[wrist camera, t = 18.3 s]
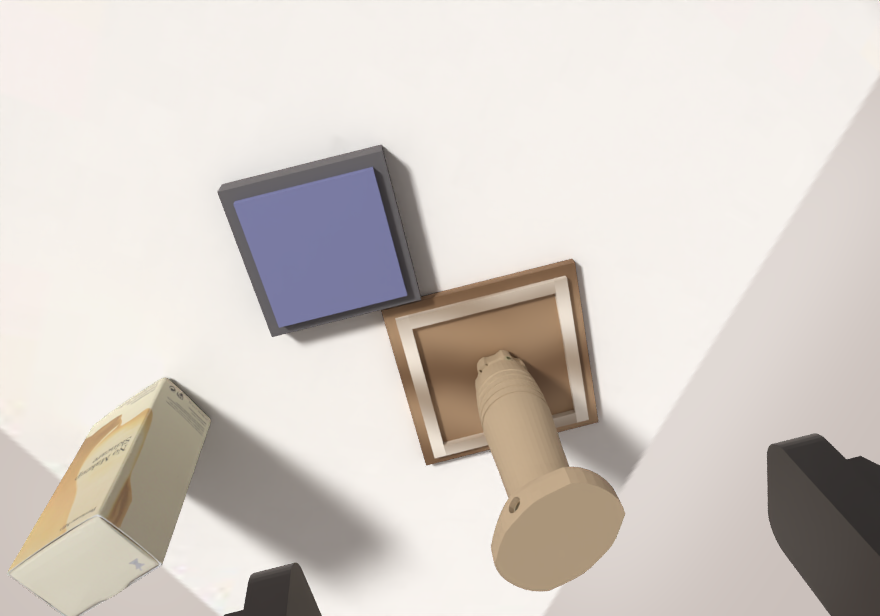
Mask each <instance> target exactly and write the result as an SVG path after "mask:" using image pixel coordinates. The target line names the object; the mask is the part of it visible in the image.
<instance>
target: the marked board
mask: <svg viewBox="0 0 880 616" xmlns="http://www.w3.org/2000/svg"><path fill="white" fill-rule="evenodd" d="M381 312H382V315H383V318H384V322H385V325H386V329H387V332H388V336H389V339H390V342H391V346H392V349H393V353H394V356H395V360H396V363H397V366H398V370H399V373H400V377H401V380H402V384H403V387H404V390H405V394H406V397H407V401H408V404H409V408H410V411H411V415H412V418H413V421H414V425H415V428H416V432H417V435H418V439H419V442H420V445H421V449H422V452H423V456H424V459H425V463H426V465H430V464H434V463H438V462H442V461H446V460H450V459H454V458H458V457H462V456H466V455H470V454H474V453H478V452H482V451H486V450H490V448H489V445H488V443H487V440H486V438H485V435H484V432H483V429H482V425H481V421H480V417H479V412H478V406H477V397H476V387H475V380H476V378H477V377H478V371H477V363H478V361H479V360H480V359H481V358H482V357H489V356H492V355H494V354H496V353H497V352H499V350H506V351H508V352H509V354H510V355H511V356H512V357H514V358H519V359H521V360H522V361H523V363H524V364H525V366H526V368H527V370H528V372H529V373H530V374H531V376H532V377H533V379H534V380H535V382H536V383H537V385H538V386H539V388H540V390H541V392H542V393H543V395H544V398H545V400H546V402H547V404H548V407H549V409H550V411H551V414H552V417H553V420H554V424H555V427H556V430H557V432H561V431H565V430H569V429H573V428H577V427H581V426H585V425H589V424H593V423H597V422H598V416H597V409H596V402H595V396H594V389H593V382H592V375H591V368H590V362H589V355H588V348H587V341H586V334H585V328H584V321H583V314H582V307H581V300H580V294H579V287H578V280H577V273H576V266H575V262H574V261H573V259H569V260H565V261H561V262H557V263H553V264H549V265H545V266H541V267H537V268H533V269H529V270H525V271H521V272H518V273H514V274H510V275H506V276H502V277H498V278H494V279H490V280H486V281H482V282H478V283H474V284H470V285H466V286H462V287H458V288H454V289H450V290H446V291H442V292H438V293H434V294H430V295H426V296H422V297H421V300H418V301H414V302H410V303H406V304H402V305H398V306H394V307H390V308H386V309H382V310H381Z"/></svg>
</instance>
